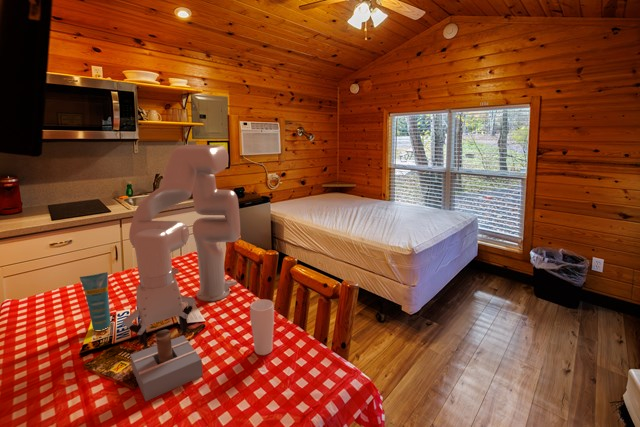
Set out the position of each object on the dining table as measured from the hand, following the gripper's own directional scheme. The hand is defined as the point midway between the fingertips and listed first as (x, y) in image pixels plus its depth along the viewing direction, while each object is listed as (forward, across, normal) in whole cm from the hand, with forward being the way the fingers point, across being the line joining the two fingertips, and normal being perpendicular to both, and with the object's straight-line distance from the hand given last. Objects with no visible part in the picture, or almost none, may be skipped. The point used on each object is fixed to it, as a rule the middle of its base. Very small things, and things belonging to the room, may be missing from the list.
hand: (164, 337), depth 89 cm
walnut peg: (+10, +1, +1) cm, 10 cm away
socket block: (+10, +1, +1) cm, 10 cm away
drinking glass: (+11, -24, +9) cm, 28 cm away
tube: (+11, +11, -35) cm, 38 cm away
